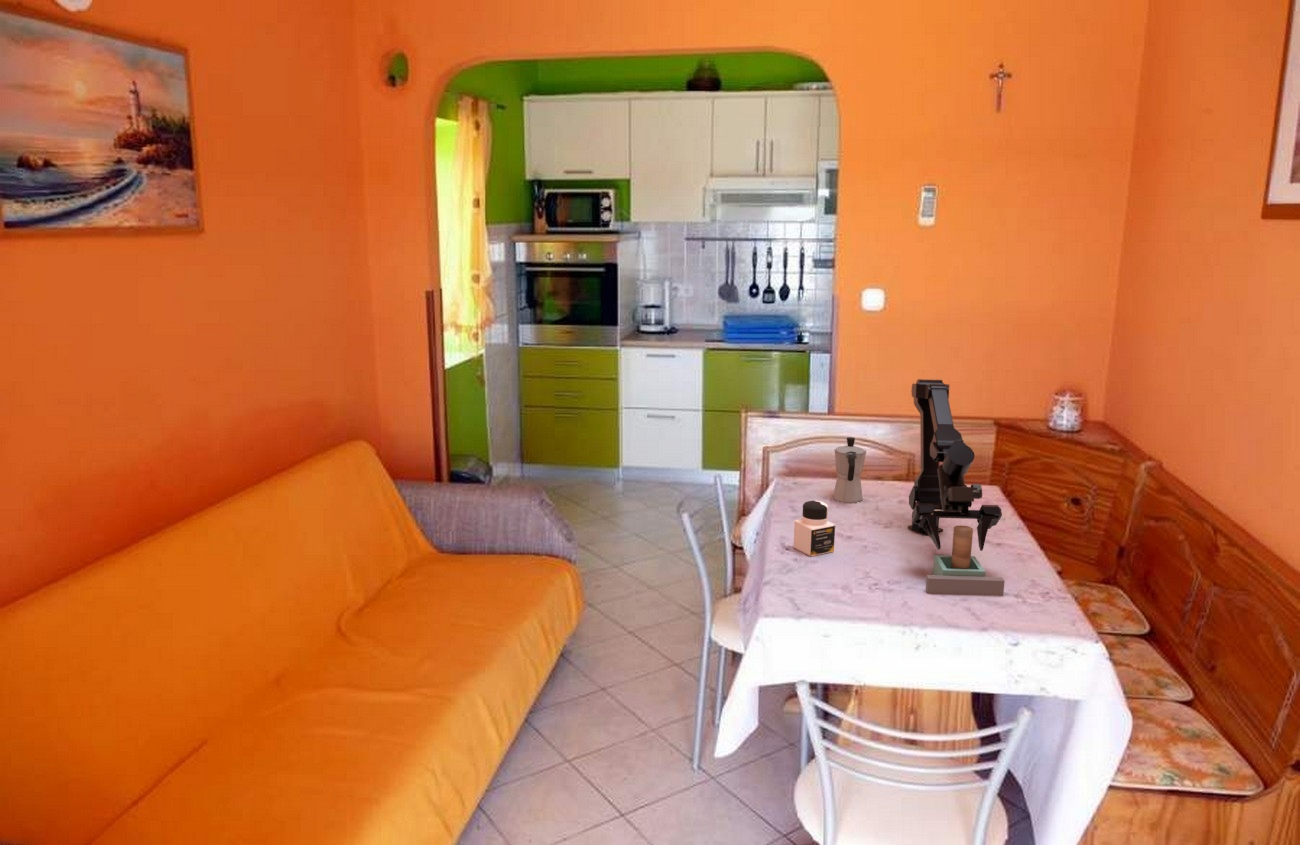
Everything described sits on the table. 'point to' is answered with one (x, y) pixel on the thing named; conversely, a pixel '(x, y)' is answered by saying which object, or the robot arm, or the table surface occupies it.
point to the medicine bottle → (814, 530)
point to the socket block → (944, 568)
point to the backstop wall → (965, 585)
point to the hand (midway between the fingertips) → (960, 549)
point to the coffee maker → (849, 472)
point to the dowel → (961, 547)
